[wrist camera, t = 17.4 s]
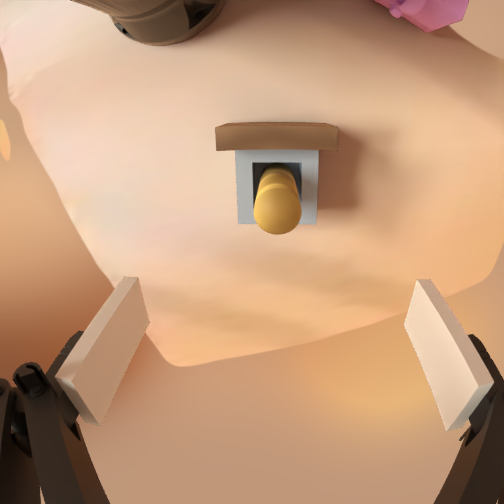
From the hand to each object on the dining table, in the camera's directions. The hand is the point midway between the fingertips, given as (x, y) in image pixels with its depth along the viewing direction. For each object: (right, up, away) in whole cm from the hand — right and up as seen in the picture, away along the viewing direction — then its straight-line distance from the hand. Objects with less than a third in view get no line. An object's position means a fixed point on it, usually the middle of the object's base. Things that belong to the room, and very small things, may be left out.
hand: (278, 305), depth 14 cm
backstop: (+2, +17, +22) cm, 28 cm away
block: (+2, +12, +25) cm, 27 cm away
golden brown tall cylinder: (+2, +11, +23) cm, 26 cm away
